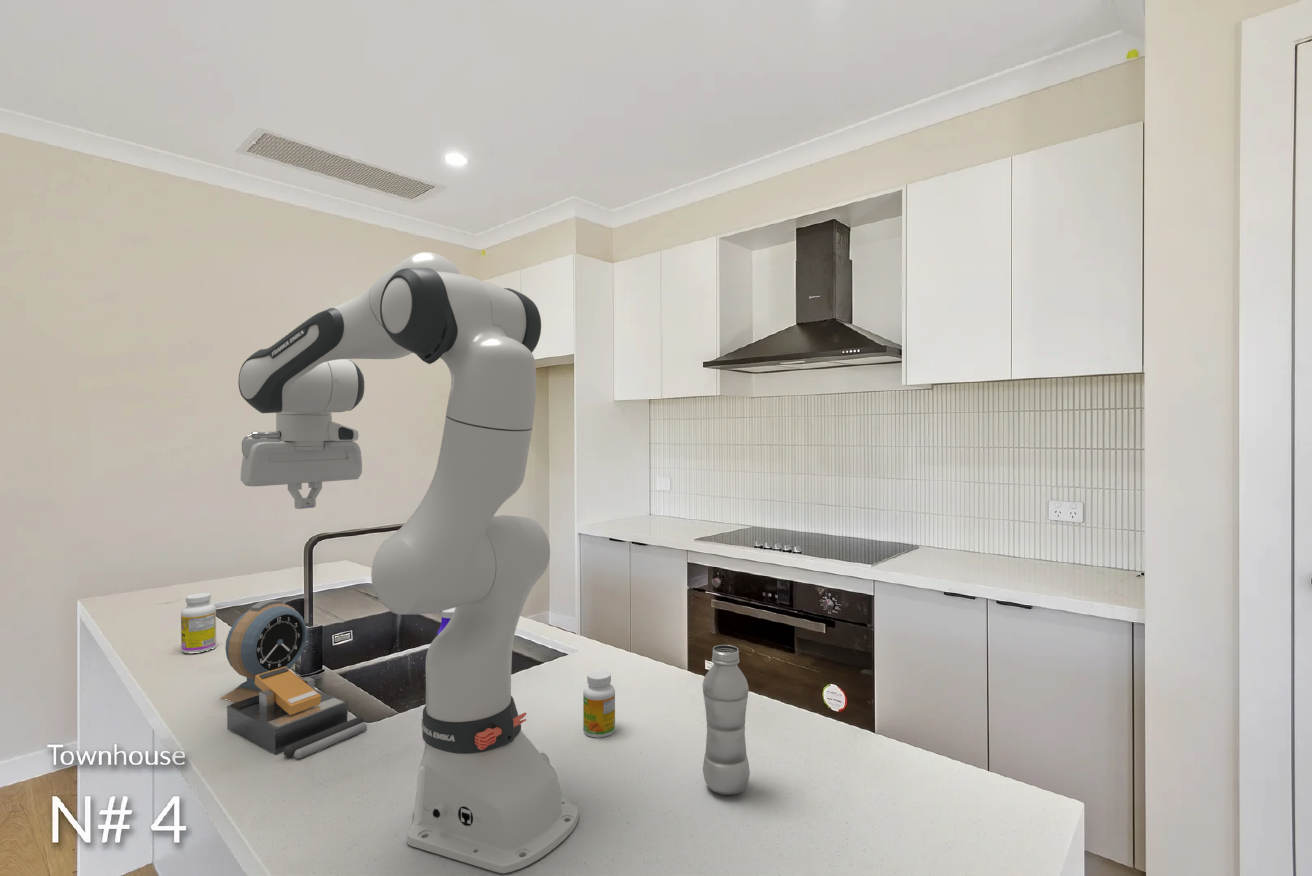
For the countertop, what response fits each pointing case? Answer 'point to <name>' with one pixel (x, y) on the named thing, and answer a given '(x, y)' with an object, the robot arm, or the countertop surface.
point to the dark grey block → (283, 719)
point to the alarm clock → (264, 643)
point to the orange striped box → (288, 690)
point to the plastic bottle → (725, 723)
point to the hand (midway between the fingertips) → (305, 508)
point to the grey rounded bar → (325, 738)
